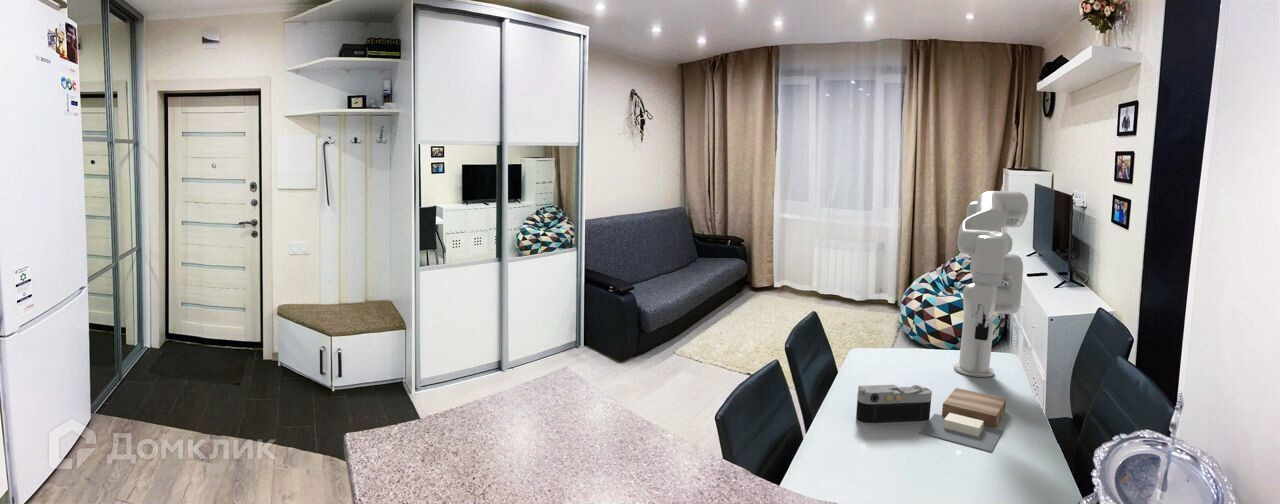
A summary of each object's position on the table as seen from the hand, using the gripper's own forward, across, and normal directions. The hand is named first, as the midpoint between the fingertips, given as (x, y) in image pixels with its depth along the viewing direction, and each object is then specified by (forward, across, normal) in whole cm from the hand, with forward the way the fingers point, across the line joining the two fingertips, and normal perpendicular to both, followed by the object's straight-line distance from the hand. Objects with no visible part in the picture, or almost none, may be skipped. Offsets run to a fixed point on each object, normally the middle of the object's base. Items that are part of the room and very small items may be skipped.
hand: (981, 339), depth 191 cm
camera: (+23, +20, -18) cm, 35 cm away
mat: (+23, +17, 0) cm, 28 cm away
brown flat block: (+23, +1, 0) cm, 23 cm away
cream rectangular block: (+20, +15, 0) cm, 25 cm away
